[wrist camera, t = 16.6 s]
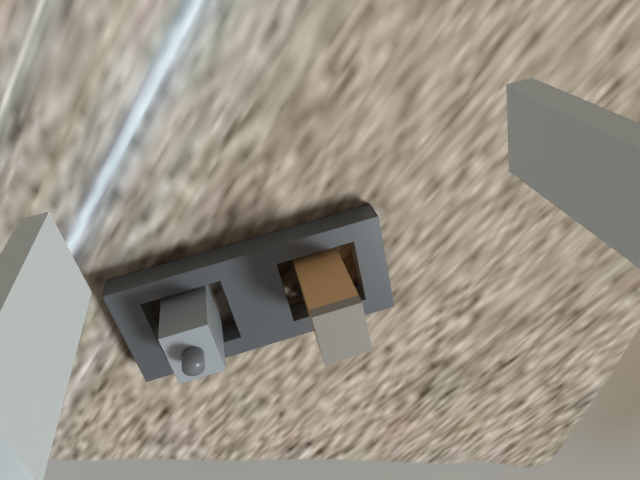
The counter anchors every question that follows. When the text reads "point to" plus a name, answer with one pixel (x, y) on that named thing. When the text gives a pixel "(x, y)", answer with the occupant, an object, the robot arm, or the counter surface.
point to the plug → (333, 305)
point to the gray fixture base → (237, 295)
